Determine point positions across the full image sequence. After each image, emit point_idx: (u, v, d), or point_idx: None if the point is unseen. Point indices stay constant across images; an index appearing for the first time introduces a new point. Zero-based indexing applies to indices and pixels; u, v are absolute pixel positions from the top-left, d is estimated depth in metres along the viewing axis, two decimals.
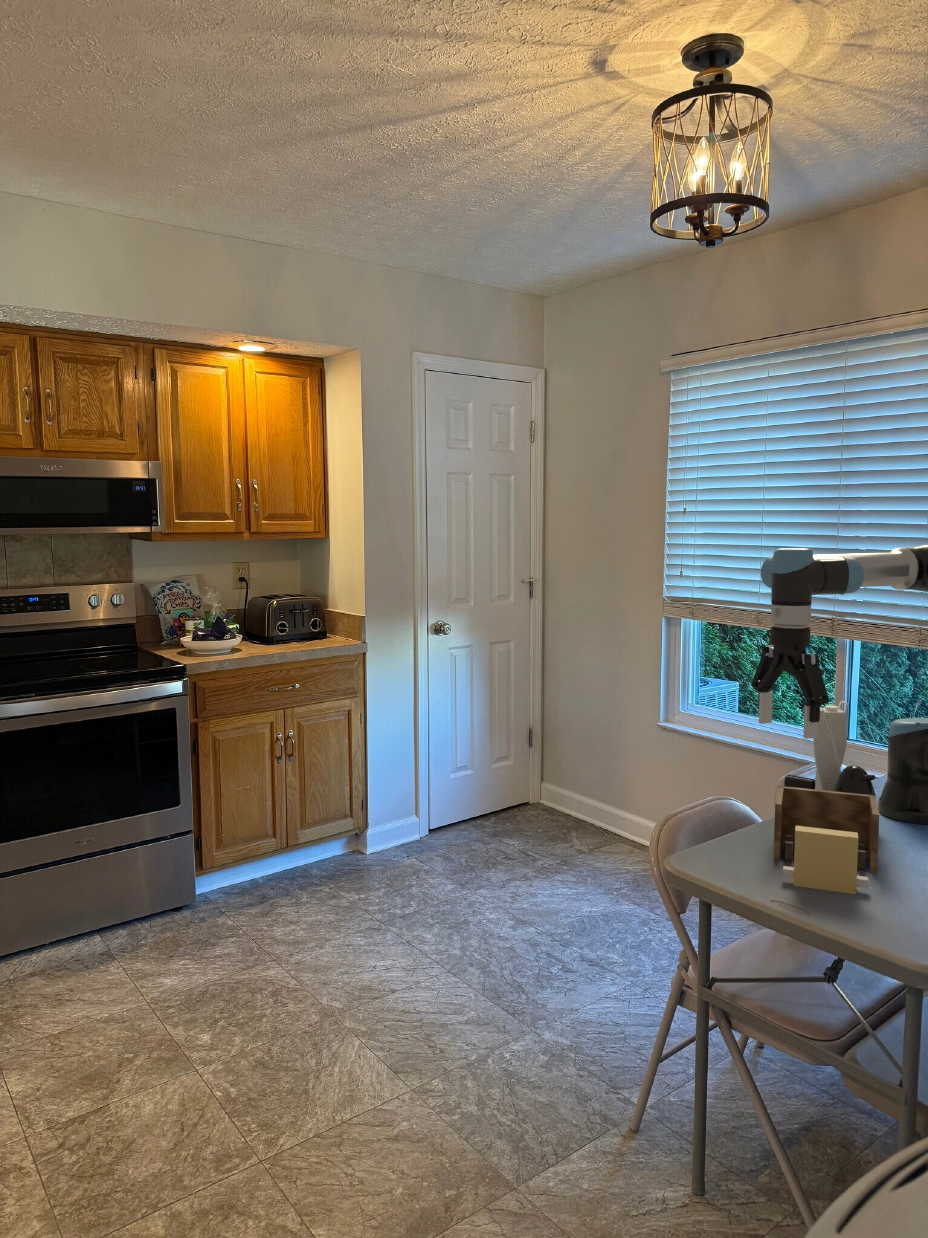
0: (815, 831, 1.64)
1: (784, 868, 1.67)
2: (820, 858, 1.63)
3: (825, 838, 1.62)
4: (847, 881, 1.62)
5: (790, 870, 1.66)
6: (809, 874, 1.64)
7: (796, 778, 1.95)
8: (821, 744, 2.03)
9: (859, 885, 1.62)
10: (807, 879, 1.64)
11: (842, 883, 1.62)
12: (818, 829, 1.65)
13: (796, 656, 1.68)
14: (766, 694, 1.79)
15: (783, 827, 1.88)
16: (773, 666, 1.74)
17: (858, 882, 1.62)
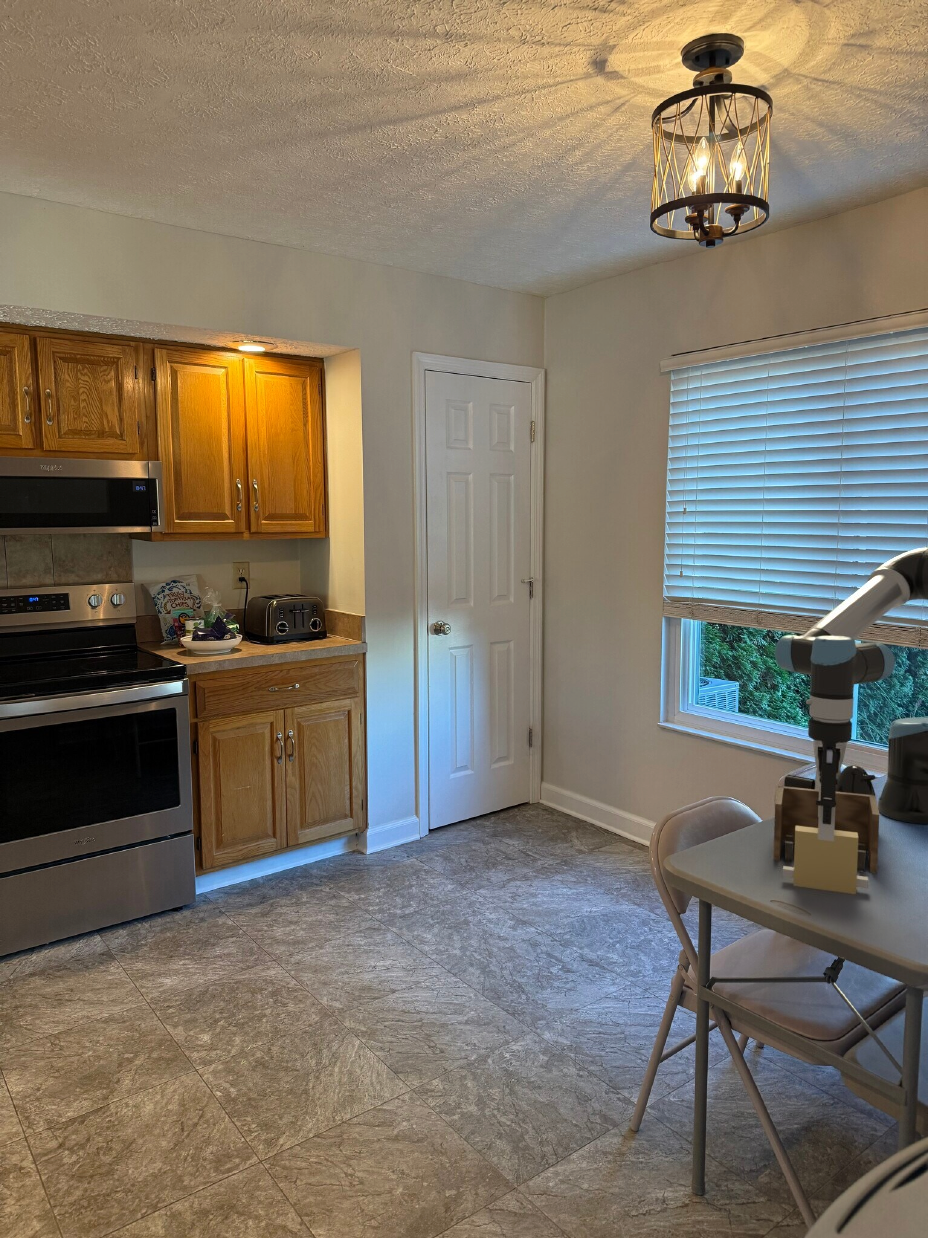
0: (815, 831, 1.64)
1: (784, 868, 1.67)
2: (820, 859, 1.63)
3: None
4: (847, 881, 1.62)
5: (790, 870, 1.66)
6: (809, 874, 1.64)
7: (796, 778, 1.95)
8: (821, 744, 2.03)
9: (859, 885, 1.62)
10: (807, 879, 1.64)
11: (842, 883, 1.62)
12: None
13: None
14: None
15: (783, 827, 1.88)
16: None
17: (858, 882, 1.62)
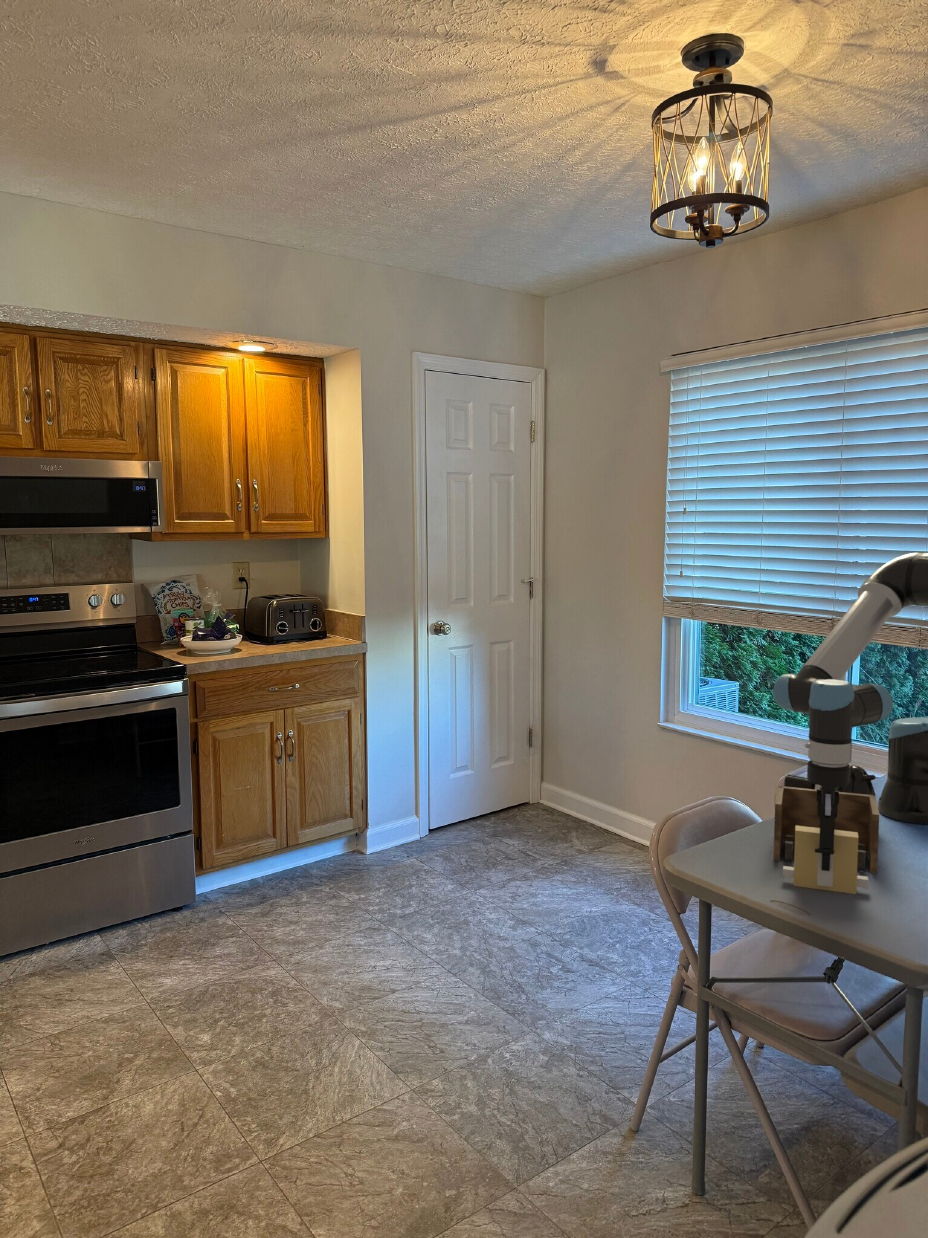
0: (815, 831, 1.64)
1: (784, 868, 1.67)
2: None
3: None
4: (847, 881, 1.62)
5: (790, 870, 1.66)
6: (809, 874, 1.64)
7: (796, 778, 1.95)
8: None
9: (859, 885, 1.62)
10: (807, 879, 1.64)
11: (842, 883, 1.62)
12: (818, 829, 1.65)
13: (821, 796, 1.60)
14: None
15: (783, 827, 1.88)
16: None
17: (858, 882, 1.62)
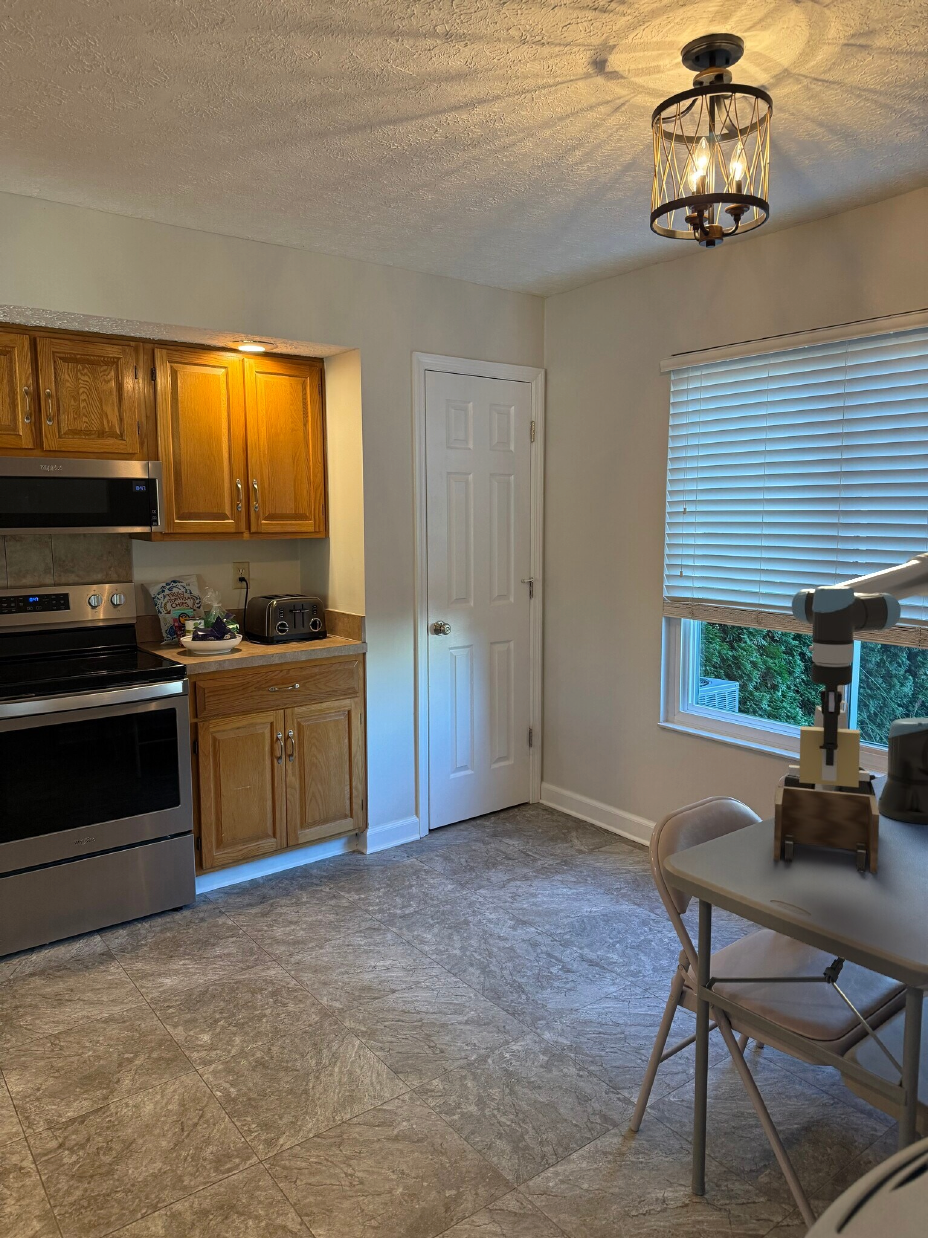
0: (819, 730, 1.73)
1: (790, 766, 1.77)
2: None
3: None
4: (850, 775, 1.71)
5: (796, 768, 1.76)
6: (813, 771, 1.74)
7: (796, 778, 1.95)
8: None
9: (861, 778, 1.71)
10: (812, 775, 1.74)
11: (845, 777, 1.72)
12: (822, 728, 1.75)
13: (825, 695, 1.70)
14: None
15: (783, 827, 1.88)
16: (821, 705, 1.75)
17: (860, 776, 1.71)
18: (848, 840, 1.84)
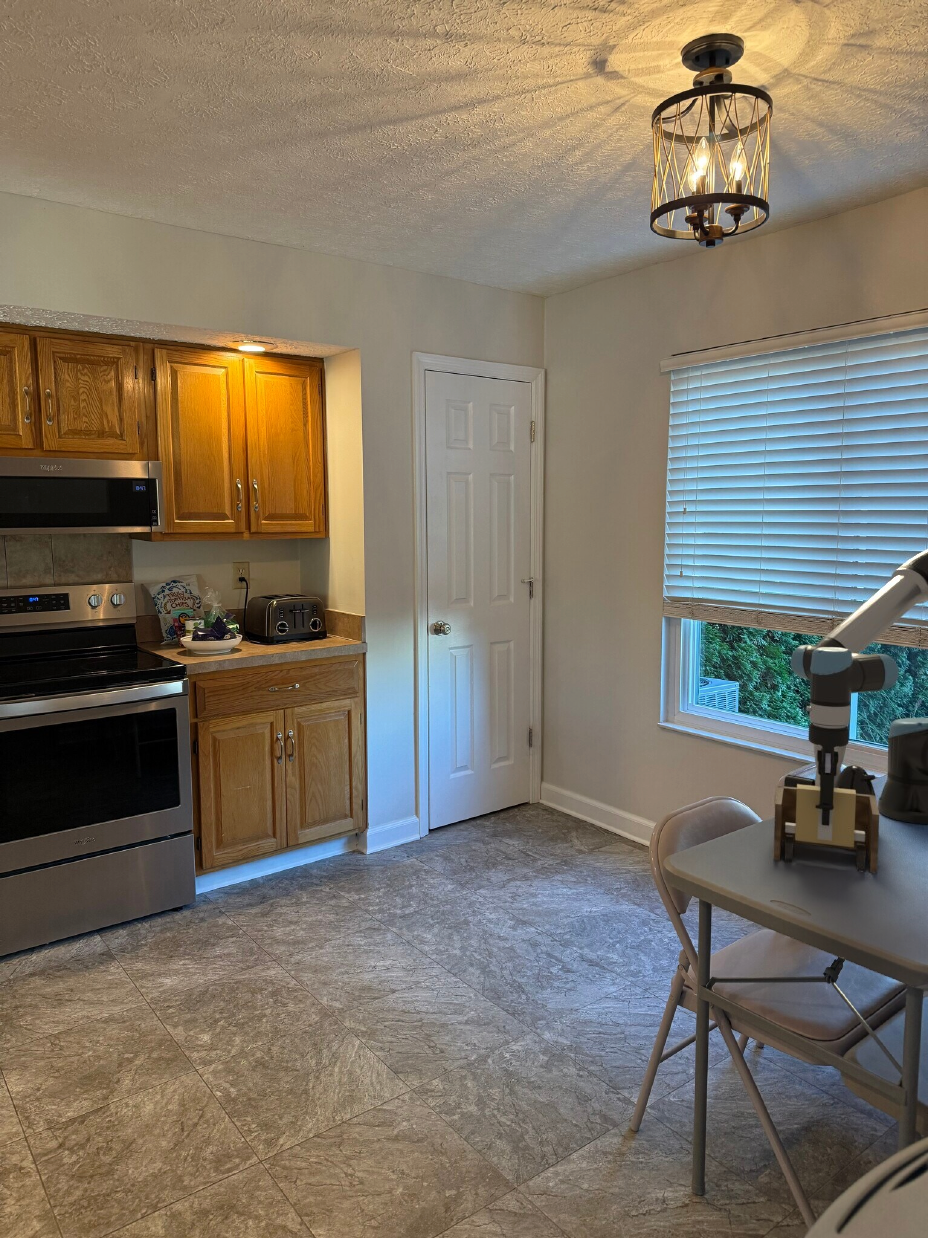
0: (815, 789, 1.75)
1: (786, 824, 1.78)
2: None
3: None
4: (845, 835, 1.73)
5: (792, 826, 1.78)
6: (809, 829, 1.76)
7: (796, 778, 1.95)
8: None
9: (856, 838, 1.73)
10: (808, 833, 1.76)
11: (841, 837, 1.74)
12: (818, 787, 1.76)
13: (822, 755, 1.72)
14: None
15: (783, 827, 1.88)
16: None
17: (855, 836, 1.73)
18: None
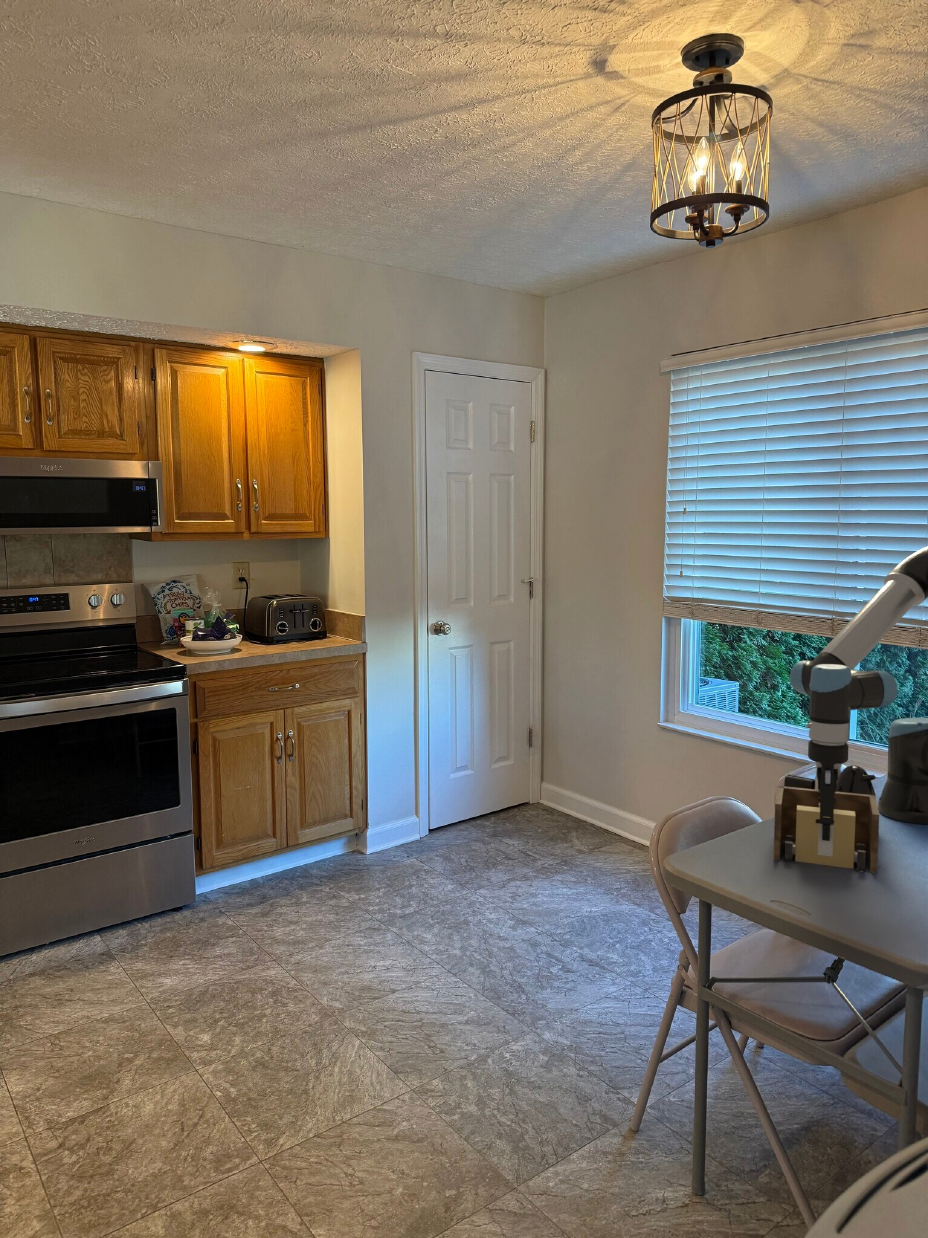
0: (815, 810, 1.76)
1: None
2: None
3: (824, 816, 1.74)
4: (845, 856, 1.74)
5: None
6: (809, 851, 1.76)
7: (796, 778, 1.95)
8: None
9: (856, 860, 1.74)
10: (808, 855, 1.76)
11: (840, 858, 1.74)
12: (818, 808, 1.77)
13: (821, 772, 1.72)
14: None
15: (783, 827, 1.88)
16: None
17: (855, 857, 1.74)
18: None
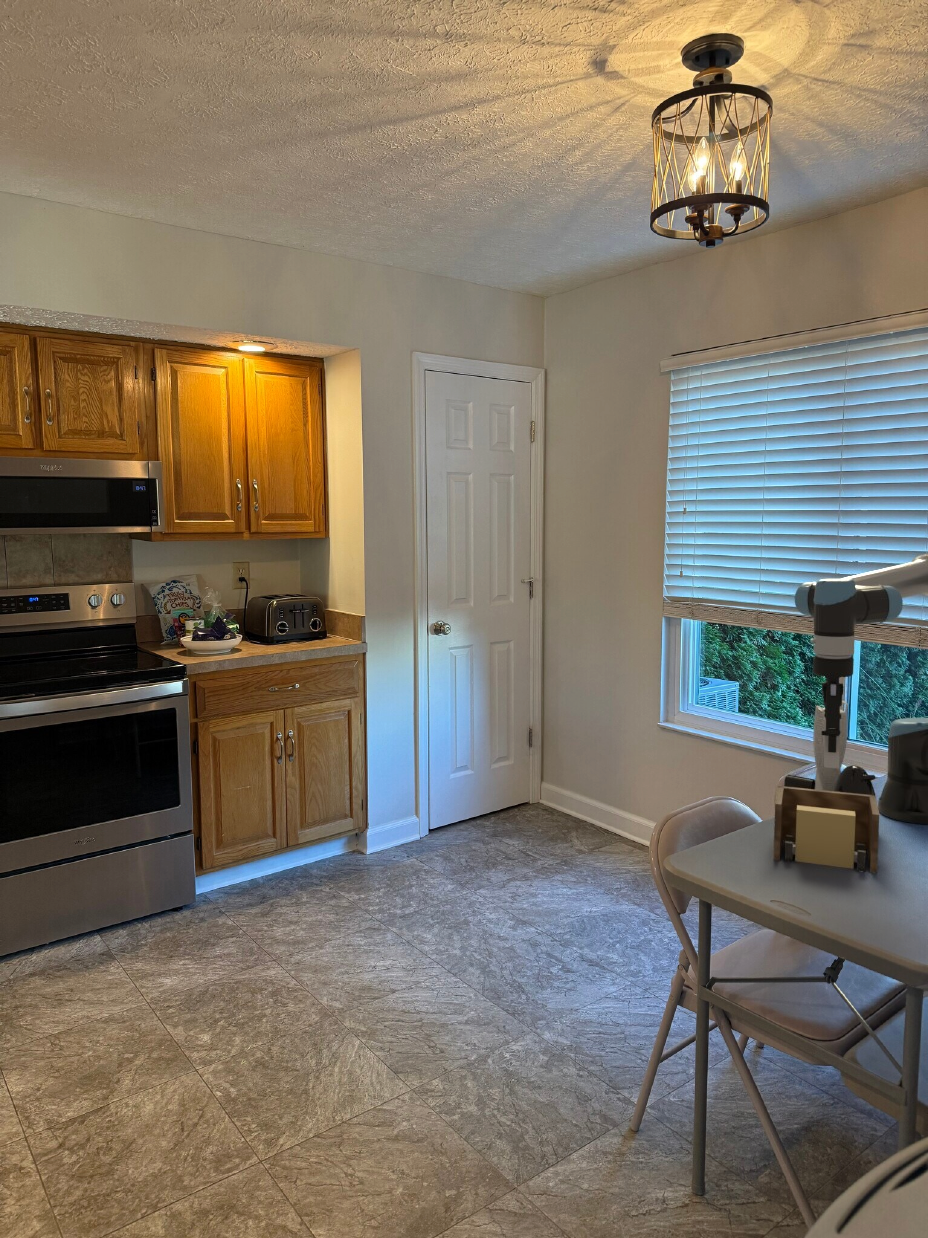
0: (815, 810, 1.76)
1: None
2: (820, 835, 1.75)
3: (824, 816, 1.74)
4: (845, 856, 1.74)
5: None
6: (809, 851, 1.76)
7: (796, 778, 1.95)
8: (821, 744, 2.03)
9: (856, 860, 1.74)
10: (808, 855, 1.76)
11: (840, 858, 1.74)
12: (818, 808, 1.77)
13: None
14: None
15: (783, 827, 1.88)
16: None
17: (855, 857, 1.74)
18: None
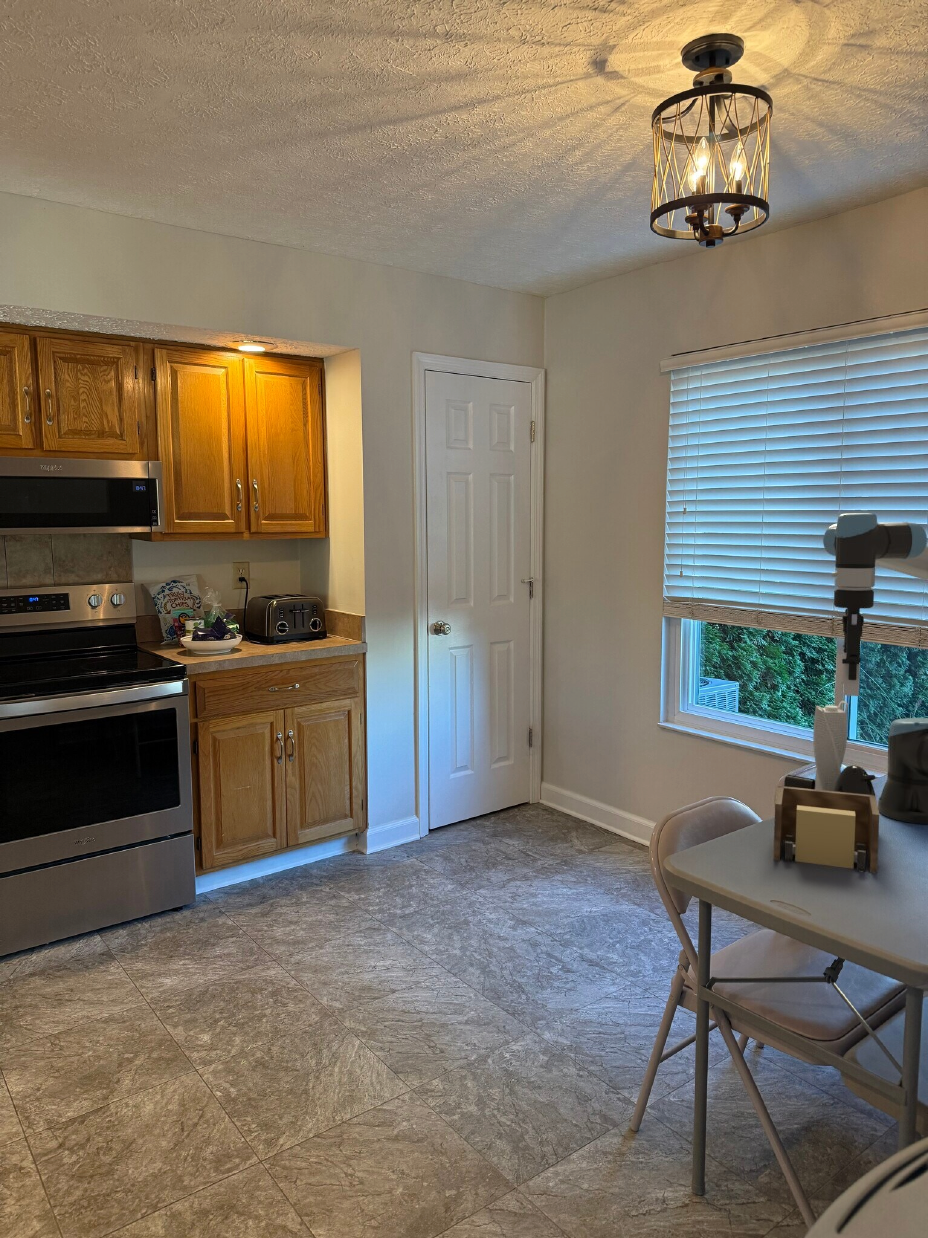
0: (815, 810, 1.76)
1: None
2: (820, 835, 1.75)
3: (824, 816, 1.74)
4: (845, 856, 1.74)
5: None
6: (809, 851, 1.76)
7: (796, 778, 1.95)
8: (821, 744, 2.03)
9: (856, 860, 1.74)
10: (808, 855, 1.76)
11: (840, 858, 1.74)
12: (818, 808, 1.77)
13: None
14: None
15: (783, 827, 1.88)
16: (843, 627, 1.82)
17: (855, 857, 1.74)
18: None
